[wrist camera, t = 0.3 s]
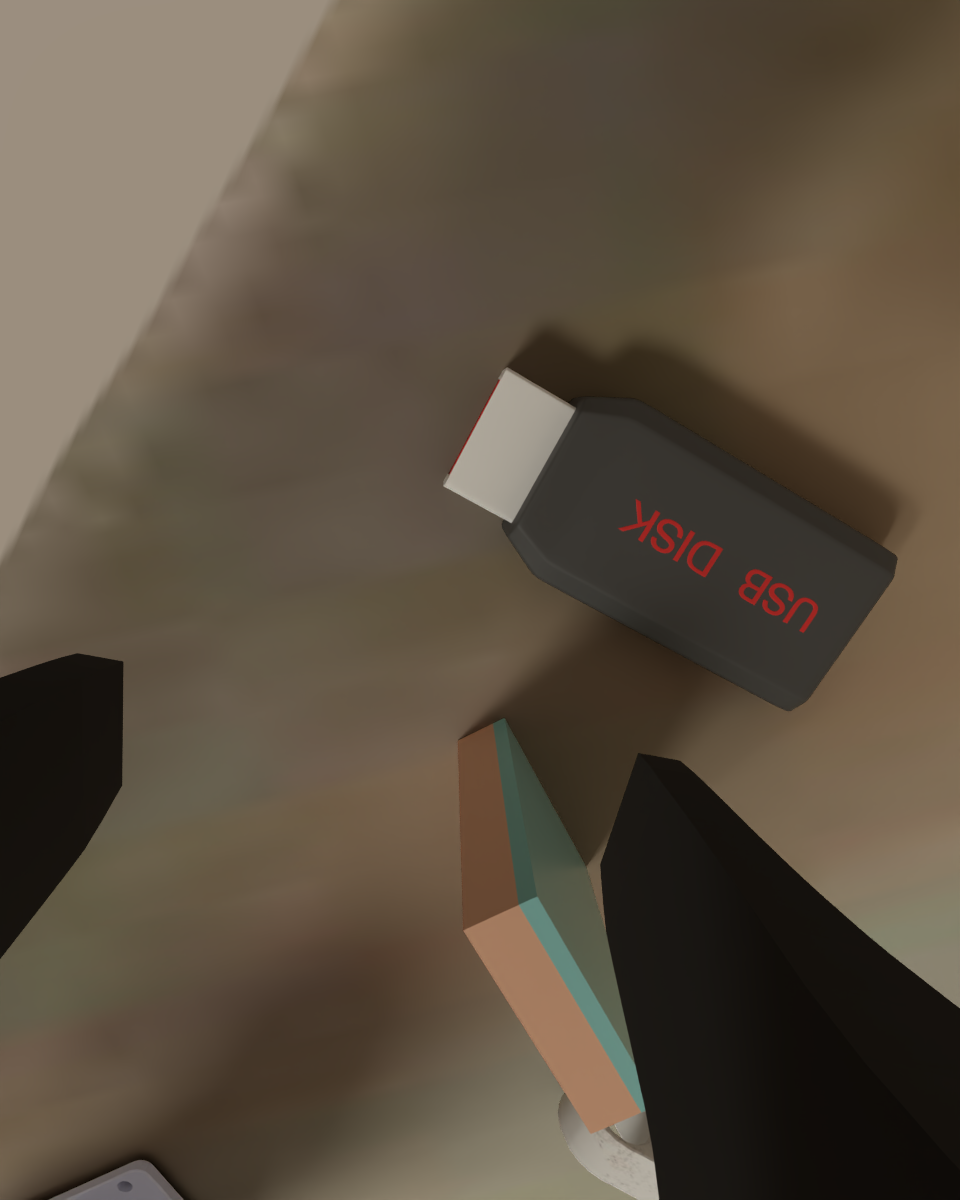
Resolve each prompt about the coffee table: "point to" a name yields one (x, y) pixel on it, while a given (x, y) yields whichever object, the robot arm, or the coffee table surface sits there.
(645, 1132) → the wrench
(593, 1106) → the tile
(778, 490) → the usb drive
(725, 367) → the coffee table surface
